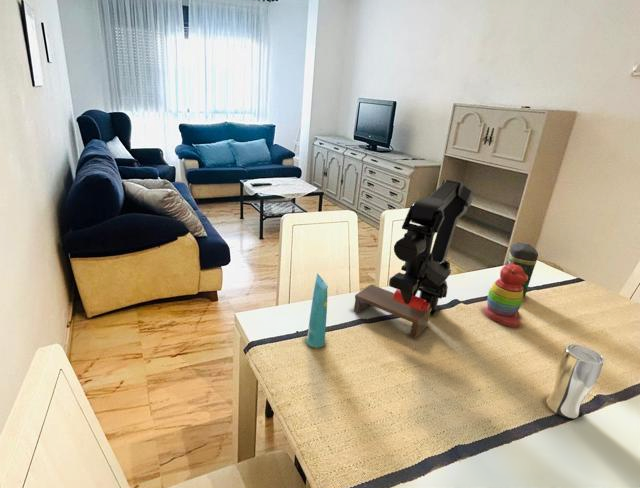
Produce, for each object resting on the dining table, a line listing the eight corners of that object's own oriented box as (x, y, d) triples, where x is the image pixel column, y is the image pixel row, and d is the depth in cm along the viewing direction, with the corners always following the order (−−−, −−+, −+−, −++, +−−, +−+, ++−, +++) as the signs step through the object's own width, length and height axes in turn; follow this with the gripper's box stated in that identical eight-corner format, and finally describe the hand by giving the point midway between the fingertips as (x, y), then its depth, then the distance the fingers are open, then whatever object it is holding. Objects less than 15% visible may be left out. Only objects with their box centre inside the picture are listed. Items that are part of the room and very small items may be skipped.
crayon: (392, 300, 107) (395, 290, 107) (396, 299, 110) (399, 288, 110) (425, 313, 102) (428, 302, 101) (428, 312, 104) (432, 300, 104)
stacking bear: (519, 329, 115) (537, 276, 109) (482, 319, 120) (497, 267, 113) (518, 313, 124) (534, 263, 118) (483, 304, 128) (497, 255, 122)
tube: (329, 349, 102) (337, 284, 95) (313, 352, 100) (319, 287, 93) (317, 333, 108) (323, 272, 101) (301, 336, 107) (307, 274, 100)
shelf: (368, 300, 127) (371, 284, 125) (428, 324, 115) (431, 307, 113) (352, 311, 120) (355, 294, 118) (414, 339, 108) (418, 321, 106)
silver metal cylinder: (574, 401, 88) (597, 347, 83) (586, 424, 82) (611, 367, 77) (540, 393, 90) (560, 340, 85) (549, 414, 84) (571, 359, 79)
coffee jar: (526, 303, 130) (542, 253, 124) (500, 297, 133) (514, 248, 126) (521, 290, 139) (536, 243, 132) (497, 286, 142) (510, 239, 135)
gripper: (437, 270, 89) (425, 327, 95) (461, 248, 102) (449, 299, 108) (392, 256, 96) (383, 310, 101) (421, 237, 109) (411, 285, 115)
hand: (409, 301), depth 106 cm, fingers closed on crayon, 3 cm apart
